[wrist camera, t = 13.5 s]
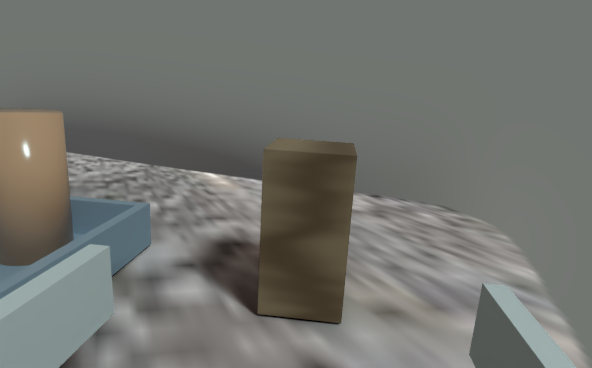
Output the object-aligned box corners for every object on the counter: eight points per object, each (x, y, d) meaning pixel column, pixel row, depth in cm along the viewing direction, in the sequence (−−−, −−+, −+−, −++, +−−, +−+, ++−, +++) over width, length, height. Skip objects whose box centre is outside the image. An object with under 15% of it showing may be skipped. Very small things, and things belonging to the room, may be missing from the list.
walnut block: (257, 313, 23) (263, 148, 21) (271, 275, 28) (277, 138, 26) (340, 323, 23) (357, 155, 20) (340, 282, 28) (353, 143, 25)
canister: (-28, 262, 26) (-52, 112, 23) (26, 234, 31) (10, 106, 28) (46, 268, 26) (29, 118, 23) (87, 239, 31) (77, 111, 28)
